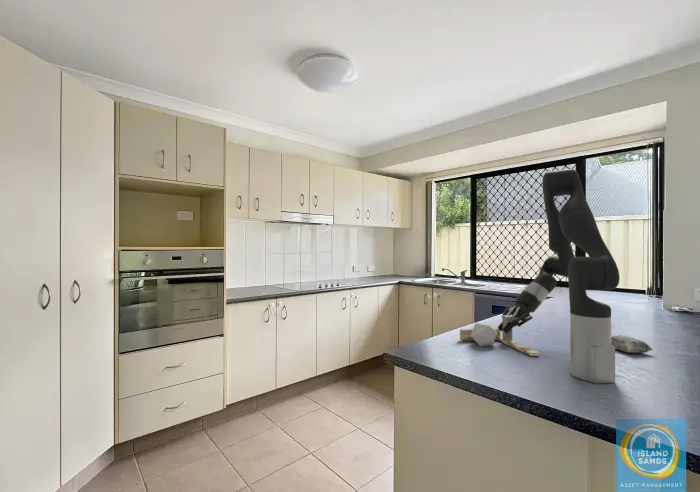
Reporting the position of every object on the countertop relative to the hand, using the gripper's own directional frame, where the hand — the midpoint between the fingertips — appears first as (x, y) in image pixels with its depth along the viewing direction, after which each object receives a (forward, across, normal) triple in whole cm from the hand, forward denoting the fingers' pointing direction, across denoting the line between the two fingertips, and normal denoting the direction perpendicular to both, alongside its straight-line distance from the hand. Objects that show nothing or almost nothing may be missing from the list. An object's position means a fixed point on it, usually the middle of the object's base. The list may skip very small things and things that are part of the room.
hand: (502, 330), depth 122 cm
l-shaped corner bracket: (+7, +4, 0) cm, 8 cm away
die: (+9, 0, -2) cm, 9 cm away
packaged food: (-22, +13, +30) cm, 40 cm away
